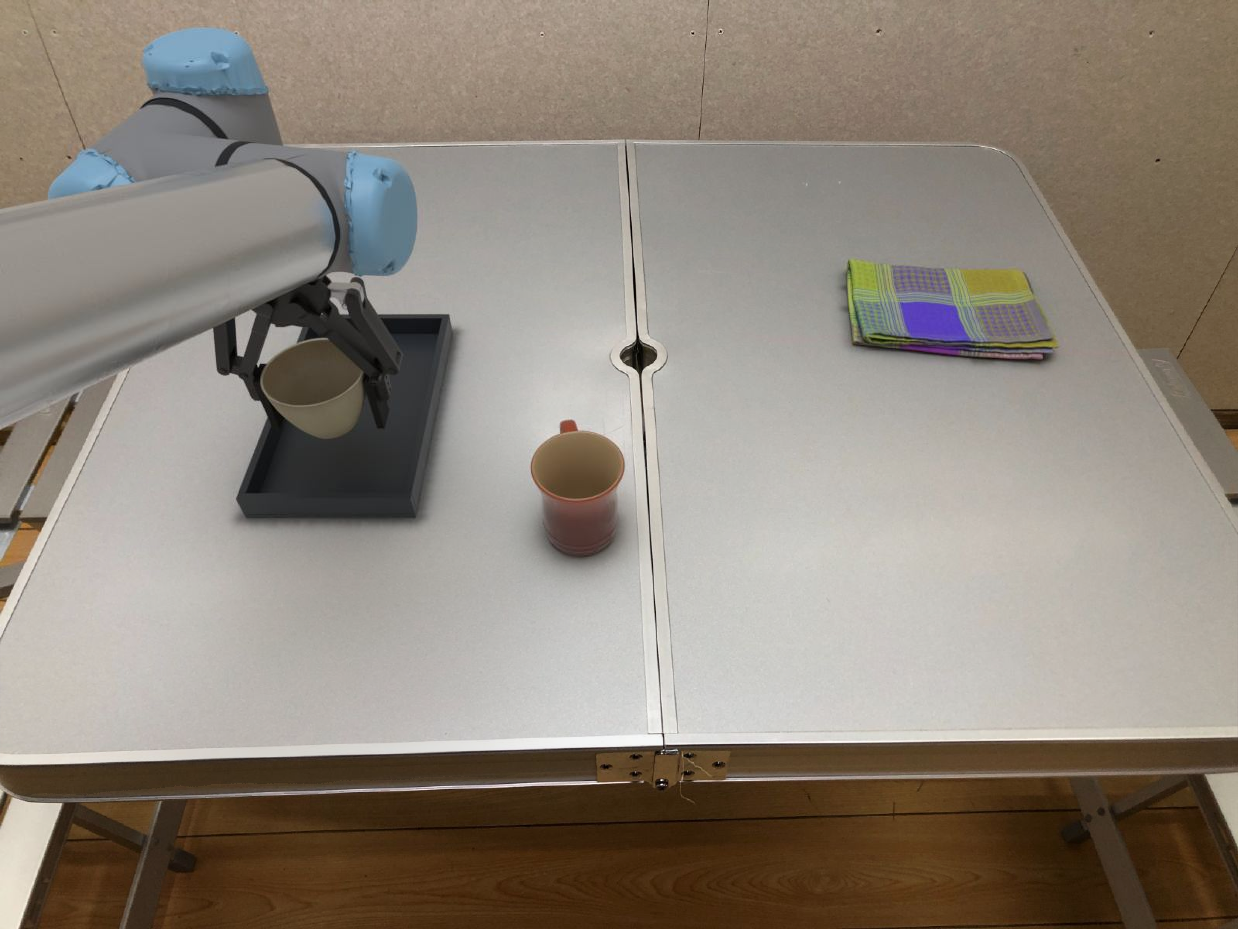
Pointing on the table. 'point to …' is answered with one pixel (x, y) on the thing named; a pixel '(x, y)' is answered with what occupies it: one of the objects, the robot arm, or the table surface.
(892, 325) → the dish towel
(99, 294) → the robot arm
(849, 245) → the table surface
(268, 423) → the tray
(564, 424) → the mug
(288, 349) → the flower pot
